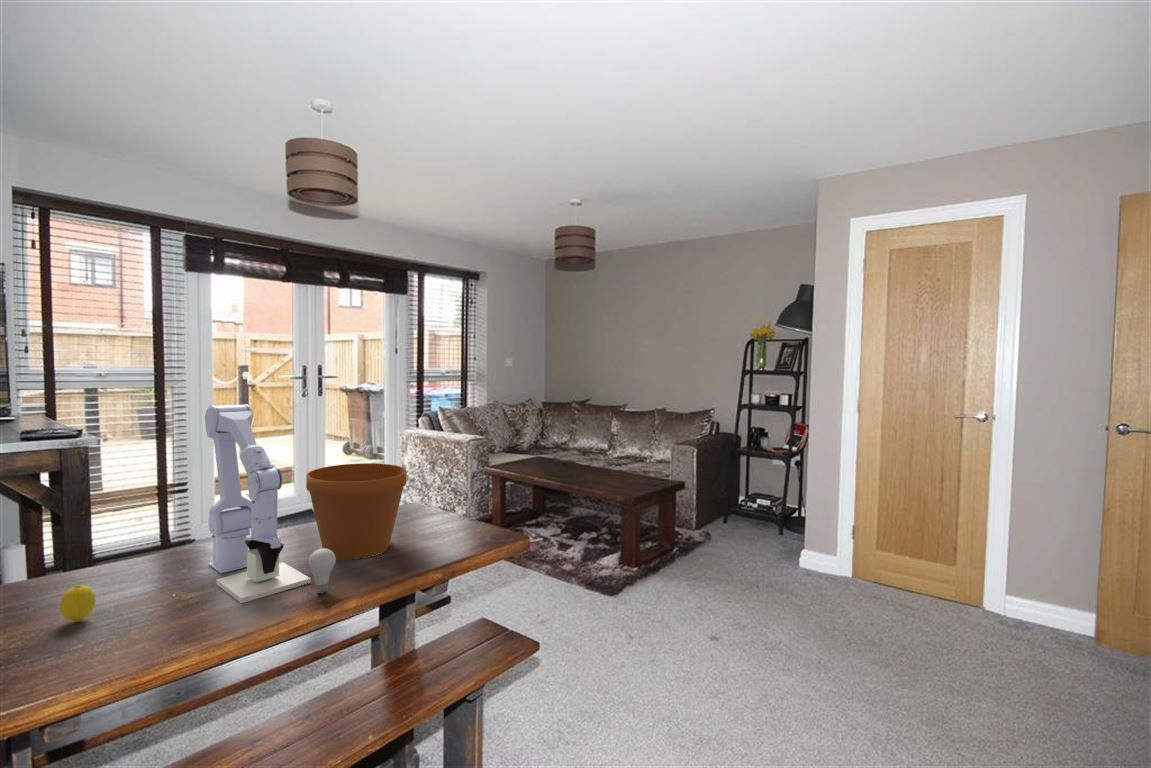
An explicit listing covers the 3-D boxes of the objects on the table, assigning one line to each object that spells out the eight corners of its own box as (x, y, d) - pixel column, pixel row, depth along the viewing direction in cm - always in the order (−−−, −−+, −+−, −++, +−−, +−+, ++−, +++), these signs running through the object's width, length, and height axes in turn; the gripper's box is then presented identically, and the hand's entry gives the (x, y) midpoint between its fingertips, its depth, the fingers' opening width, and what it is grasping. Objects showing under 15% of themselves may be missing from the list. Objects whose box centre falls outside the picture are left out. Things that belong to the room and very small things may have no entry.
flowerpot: (344, 573, 145) (346, 486, 144) (285, 552, 159) (286, 473, 158) (424, 545, 168) (426, 470, 168) (366, 528, 183) (367, 460, 182)
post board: (216, 584, 136) (216, 559, 135) (282, 566, 148) (283, 544, 148) (241, 603, 126) (241, 577, 125) (310, 582, 138) (310, 559, 138)
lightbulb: (340, 591, 133) (341, 547, 133) (317, 600, 128) (318, 555, 128) (325, 586, 136) (325, 543, 136) (302, 594, 131) (302, 549, 131)
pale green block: (247, 576, 136) (247, 550, 136) (270, 570, 140) (270, 545, 140) (255, 582, 133) (256, 555, 133) (279, 575, 137) (279, 550, 137)
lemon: (59, 621, 115) (59, 584, 114) (94, 613, 119) (94, 577, 118) (60, 631, 111) (60, 592, 110) (96, 622, 115) (96, 585, 114)
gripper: (235, 513, 138) (235, 566, 138) (259, 525, 129) (258, 582, 129) (265, 508, 143) (264, 559, 144) (289, 519, 134) (289, 573, 135)
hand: (263, 569), depth 137 cm, fingers closed on pale green block, 5 cm apart
